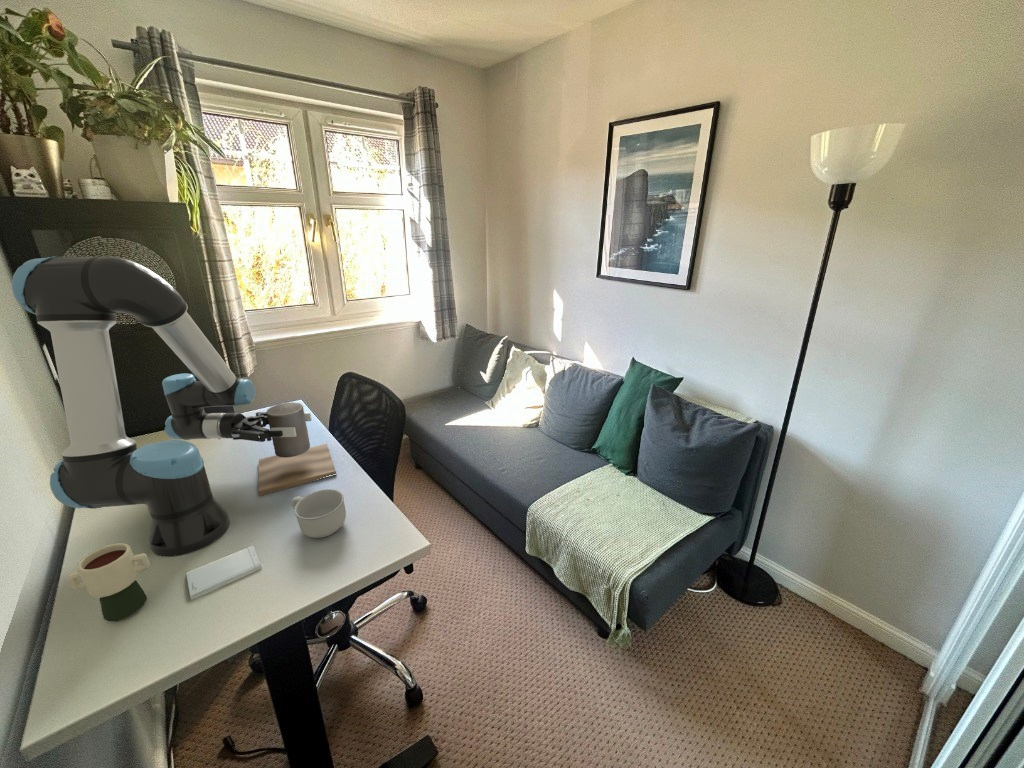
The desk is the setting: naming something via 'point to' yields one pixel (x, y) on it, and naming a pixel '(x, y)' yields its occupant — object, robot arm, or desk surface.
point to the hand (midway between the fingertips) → (303, 424)
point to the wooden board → (294, 469)
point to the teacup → (320, 512)
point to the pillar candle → (289, 418)
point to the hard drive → (222, 571)
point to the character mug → (112, 580)
